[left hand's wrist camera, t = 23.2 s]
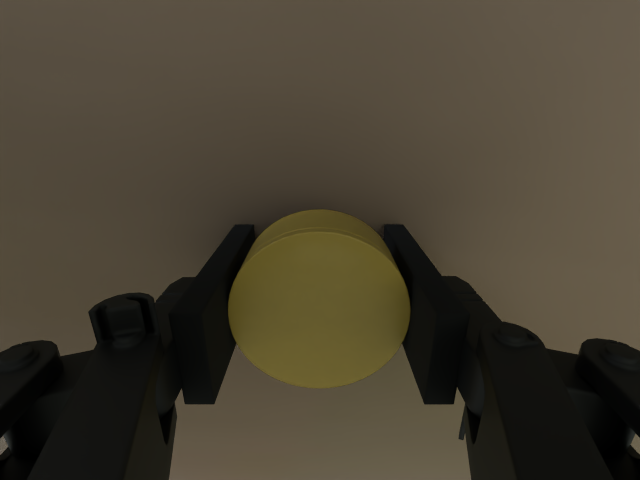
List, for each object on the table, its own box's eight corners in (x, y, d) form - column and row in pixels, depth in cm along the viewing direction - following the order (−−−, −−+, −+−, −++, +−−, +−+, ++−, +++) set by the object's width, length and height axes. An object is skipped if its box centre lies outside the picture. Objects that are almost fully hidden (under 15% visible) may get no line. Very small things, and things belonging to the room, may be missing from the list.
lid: (212, 277, 12) (189, 313, 10) (324, 174, 11) (325, 190, 9) (315, 366, 13) (314, 415, 11) (425, 285, 12) (447, 322, 10)
